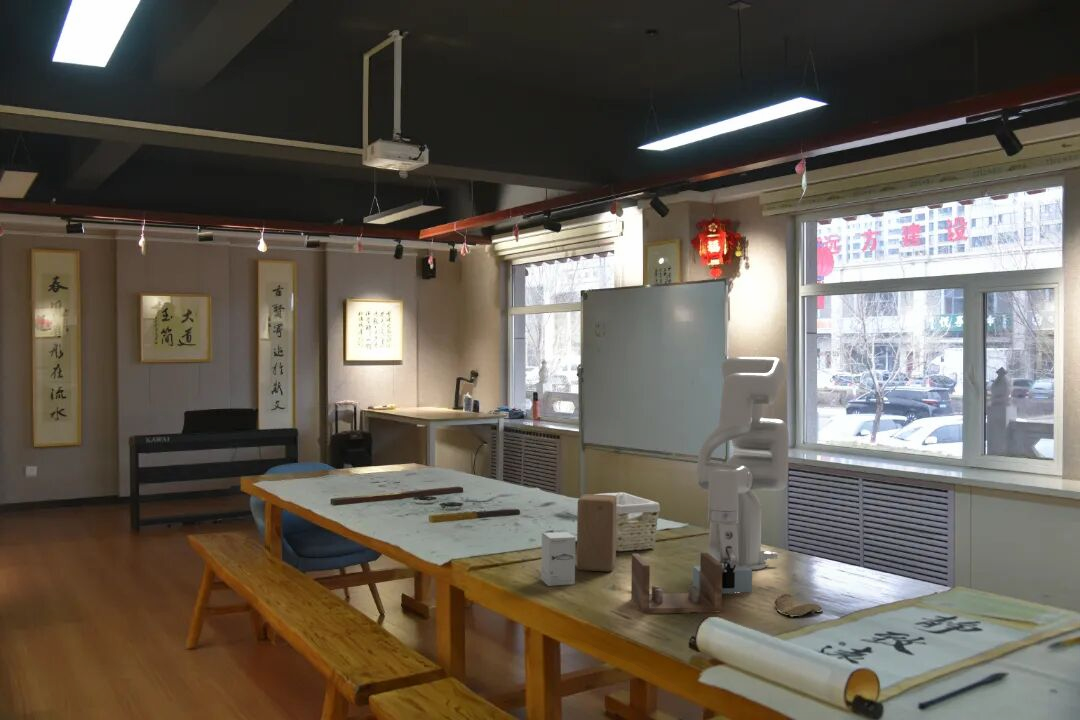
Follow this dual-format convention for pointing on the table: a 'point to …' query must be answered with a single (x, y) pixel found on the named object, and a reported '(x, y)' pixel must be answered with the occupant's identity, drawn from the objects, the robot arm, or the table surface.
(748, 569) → the grey rectangular block
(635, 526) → the storage basket
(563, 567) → the supplement box
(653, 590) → the peg frame
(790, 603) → the pottery shard
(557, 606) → the table surface
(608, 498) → the wooden block
